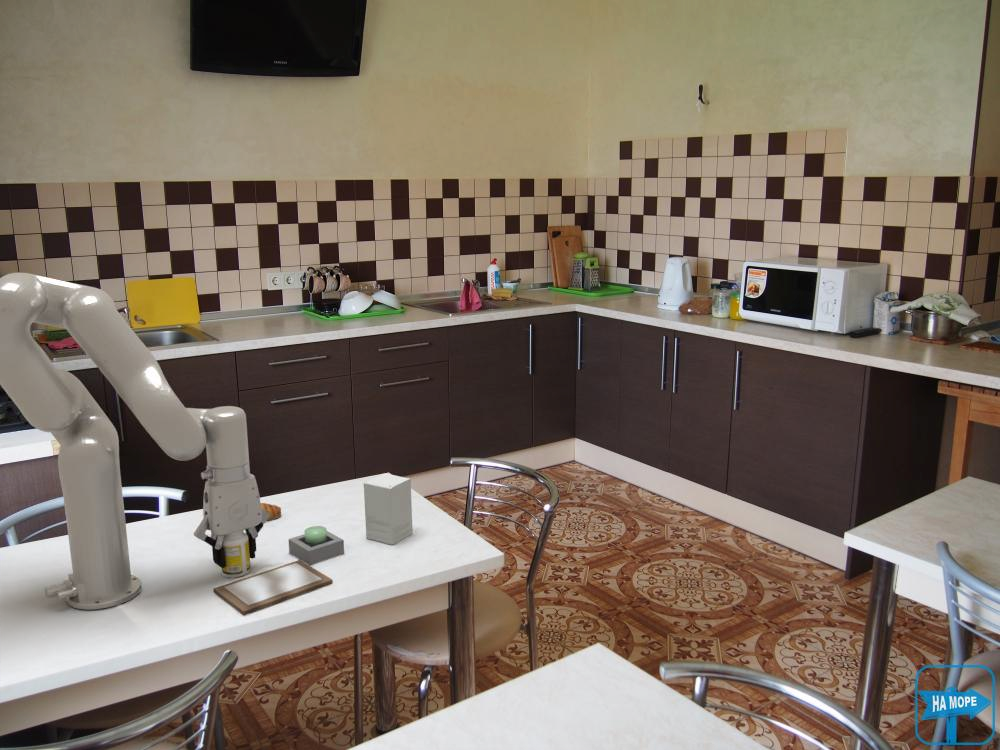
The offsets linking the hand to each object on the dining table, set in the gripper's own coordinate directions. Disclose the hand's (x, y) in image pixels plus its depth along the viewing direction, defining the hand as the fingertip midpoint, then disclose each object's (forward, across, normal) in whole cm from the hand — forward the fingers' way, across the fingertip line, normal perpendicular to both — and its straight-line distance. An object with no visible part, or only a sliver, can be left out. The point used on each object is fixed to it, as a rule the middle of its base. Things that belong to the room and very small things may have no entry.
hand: (235, 560), depth 166 cm
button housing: (+2, +16, -3) cm, 17 cm away
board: (+3, +2, -11) cm, 11 cm away
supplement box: (+3, +32, -6) cm, 33 cm away
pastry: (+3, +16, +23) cm, 28 cm away
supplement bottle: (+3, 0, 0) cm, 3 cm away
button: (-1, +16, -3) cm, 16 cm away
